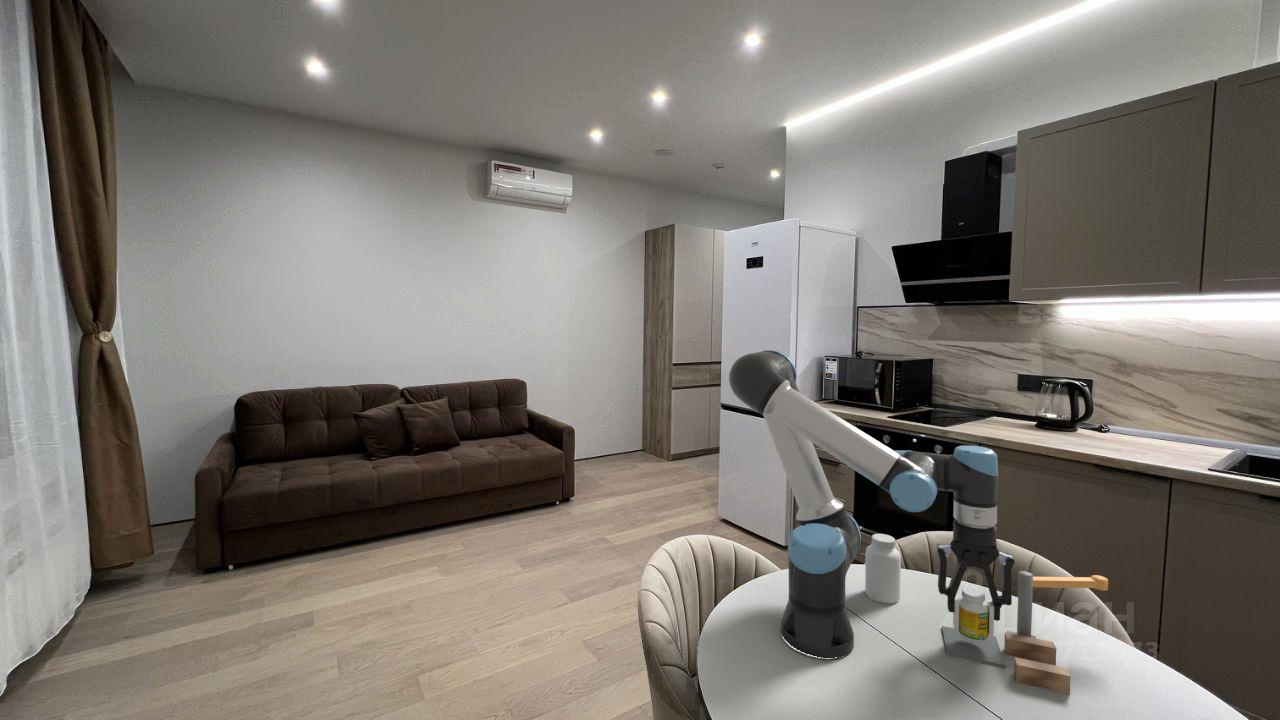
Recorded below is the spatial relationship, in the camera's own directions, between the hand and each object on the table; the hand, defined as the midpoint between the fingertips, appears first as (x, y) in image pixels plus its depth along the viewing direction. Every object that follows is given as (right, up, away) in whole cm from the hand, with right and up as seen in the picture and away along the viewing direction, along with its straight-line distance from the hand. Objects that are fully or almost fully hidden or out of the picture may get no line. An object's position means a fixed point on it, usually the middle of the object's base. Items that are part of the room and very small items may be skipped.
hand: (972, 629), depth 107 cm
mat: (0, -4, 0) cm, 4 cm away
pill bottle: (-9, -3, +21) cm, 23 cm away
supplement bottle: (0, -2, 0) cm, 1 cm away
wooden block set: (+9, -4, -4) cm, 11 cm away
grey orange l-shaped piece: (+19, -2, 0) cm, 19 cm away
